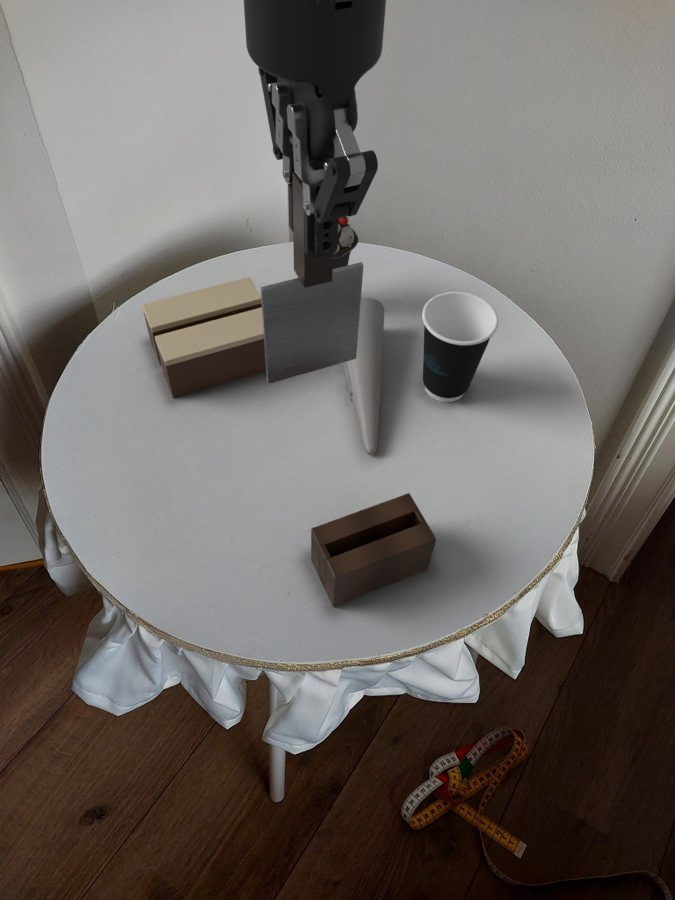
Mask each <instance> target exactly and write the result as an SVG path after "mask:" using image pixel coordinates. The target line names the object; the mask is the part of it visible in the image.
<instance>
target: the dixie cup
mask: <svg viewBox="0 0 675 900" xmlns="http://www.w3.org/2000/svg"><path fill="white" fill-rule="evenodd" d="M421 316H422V322H423V324H424V326H423V355H422V356H423V360H422V361H423V362H422V382H423V385H424V390H425V392H426V394H427V395H428V396H429V397H430V398H432V399H433V400H435V401H437V402H440V403H453V402H457V401H458V400H460V399H461V398H463V397H464V395H465V394H466V393H467V391H468V390H469V388H470V386H471V383H472V382H473V378H474V377H475V375H476V372H477V370H478V368H479V366H480V363H481V360H482V359H483V356H484V354H485V352H486V349H487V347H488V344H489V342H490V341H491V338H492V337H493V335H494V334H495V333H496V332H497V329H498V327H499V316H498V313H497V311H496V310H495V309H494V307H493V306H492V304H490V303H489V302H488V301H487V300H485V299H483V298H482V297H480V296H478V295H476V294H473V293H469V292H465V291H447V292H443V293H440V294H436V295H435V296H433V297H432V298H431V299H429V300H428V301H427V302H426V303H425V305H424V306H423V309H422V314H421Z"/></svg>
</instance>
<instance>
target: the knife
mask: <svg viewBox="0 0 675 900" xmlns="http://www.w3.org/2000/svg"><path fill="white" fill-rule="evenodd" d="M322 181H323V180H321V181H319V182H318V183H317V185H316V192H317V193H319V190H320V187H321V184H322ZM292 193H293V232H292V241H293V242H292V244H293V247H292V248H293V249H292V250H293V271H294V273H295V275H296V276H297V277H296V278H292V279H288V280H284V281H280V282H275V283H272V284H268V285H264V286H261V287H260V297H261V302H262V317H263V332H264V348H265V363H266V371H265V377H266V383H267V384H268V385H270V384H273V383H276V382H277V383H278V382H281V381H284V380H287V379H291V378H294V377H298V376H301V375H304V374H308V373H312V372H316V371H319V370H322V369H326V368H329V367H333V366H337V365H340V364H342V363H343V362H347V361H350V360H354V359H356V356H357V343H358V330H359V317H360V304H361V298H362V289H363V280H364V279H363V278H364V277H363V276H364V266H365V265H364V263H363V262H362V261H360V262H355V263H352V264H348V266H344V267H339V268H335V269H333V254H331V255H328V256H323V257H319V258H315V259H310V258H309V257H308V256H307V254H306V253H305V251H304V207H303V182H302V180H301V179H300V178H299V177H298V175H297V174H296V173H295V171H294V172H292Z"/></svg>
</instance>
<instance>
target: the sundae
mask: <svg viewBox="0 0 675 900" xmlns="http://www.w3.org/2000/svg"><path fill="white" fill-rule="evenodd" d="M358 244H359V237H358V234H357V232H356V231H355V230H354V228H352V226H351V224H349V218H348V216H346V217H342V218H338V242H337V250H336V252H335V253H333V269H335V268H339V267H344V266H348V265H349V260H350V256H351V254H352V253H351V252H352V251H353V250H354V249H355V248H356V247H357V245H358Z"/></svg>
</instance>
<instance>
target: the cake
mask: <svg viewBox="0 0 675 900" xmlns="http://www.w3.org/2000/svg"><path fill="white" fill-rule="evenodd" d="M141 308H142V312H143V316H144V320H145V324H146V328H147V333H148V337H149V340H150V344H151V346H152V349H153V351H154V355H155V356H156V359H157V362H158V364H159V365H160V366H161V370H162V373H163V376H164V379H165V381H166V384H167V385H168V389H169V391H170V394H171V397H172V399H175V398H178V397H183V396H185V395H188V394H189V395H190V394H191V393H195V392H199V391H202V390H205V389H208V388H212V387H216V386H218V385H222V384H225V383H230V382H232V381H235V380H236V381H237V380H239V379H243V378H246V377H249V376H253V375H256V374H259V373H263V372H266V363H265V348H264V332H263V317H262V302H261V294H260V293H259V291H258V289H257V287H256V285H255V284H254V282H253V280H252V279H251V277H250V276H248V277H243V278H241V279H236V280H233V281H232V280H231V281H228V282H225V283H221V284H217V285H213V286H208V287H204V288H201V289H197V290H194V291H189V292H186V293H182V294H178V295H174V296H170V297H166V298H162V299H159V300H154V301H150V302H147V303H143V304H141Z"/></svg>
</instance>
